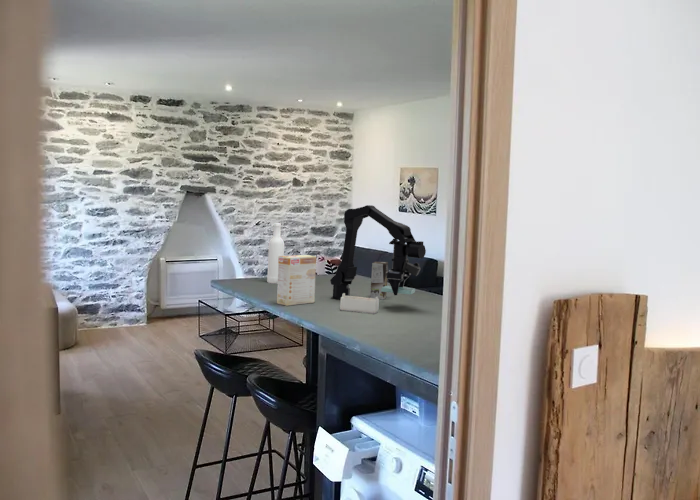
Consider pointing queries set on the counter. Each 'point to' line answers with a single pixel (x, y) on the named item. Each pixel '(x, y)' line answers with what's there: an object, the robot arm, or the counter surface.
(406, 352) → the counter surface
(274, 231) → the bottle
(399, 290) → the lid
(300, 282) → the coffeecake box
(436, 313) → the counter surface
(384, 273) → the coffee box
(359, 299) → the tub
